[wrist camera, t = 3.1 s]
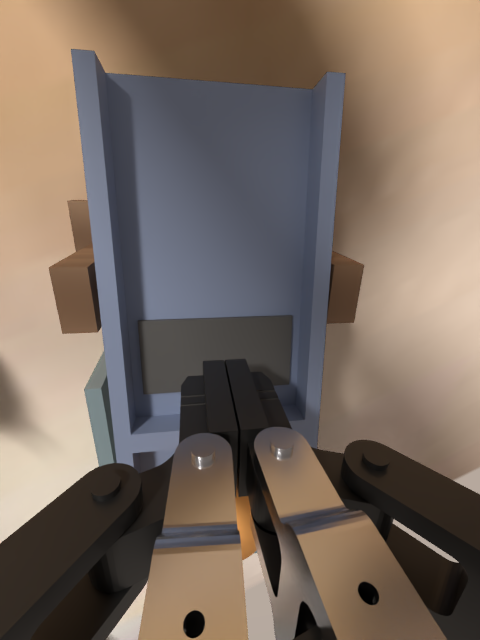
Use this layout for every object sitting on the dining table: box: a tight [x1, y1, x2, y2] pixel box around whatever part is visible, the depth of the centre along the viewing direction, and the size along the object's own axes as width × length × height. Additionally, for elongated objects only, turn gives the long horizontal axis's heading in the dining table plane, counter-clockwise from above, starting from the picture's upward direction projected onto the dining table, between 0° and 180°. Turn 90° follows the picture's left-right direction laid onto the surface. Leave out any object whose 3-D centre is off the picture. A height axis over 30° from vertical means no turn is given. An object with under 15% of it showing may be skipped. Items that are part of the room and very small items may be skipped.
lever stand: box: [49, 200, 364, 334], centre depth 15 cm, size 6×14×8 cm, turn 88°
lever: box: [71, 49, 345, 473], centre depth 13 cm, size 19×8×2 cm, turn 178°
